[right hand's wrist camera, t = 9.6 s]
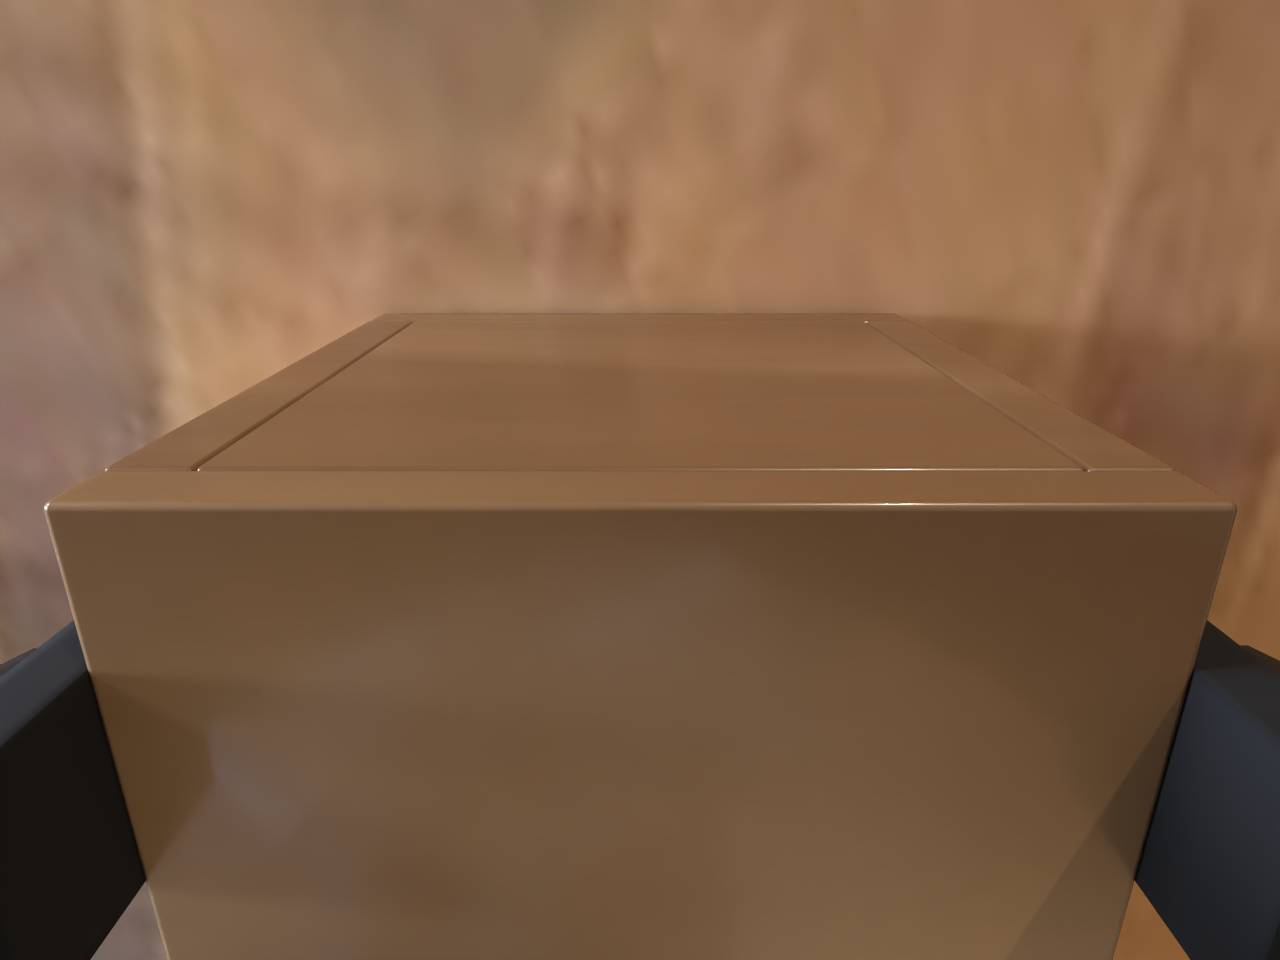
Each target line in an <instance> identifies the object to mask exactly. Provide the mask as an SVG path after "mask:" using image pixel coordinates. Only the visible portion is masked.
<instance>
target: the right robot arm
mask: <svg viewBox="0 0 1280 960" xmlns="http://www.w3.org/2000/svg"><path fill="white" fill-rule="evenodd" d="M145 881H146V879H145V875H144V872H143V868H142V864H141V861H140V857H139V853H138V850H137V846H136V843H135V839H134V835H133V832H132V828H131V824H130V821H129V817H128V814H127V810H126V806H125V803H124V799H123V795H122V792H121V788H120V785H119V781H118V777H117V774H116V770H115V766H114V763H113V759H112V756H111V752H110V748H109V745H108V741H107V738H106V734H105V730H104V727H103V723H102V719H101V716H100V712H99V709H98V705H97V701H96V698H95V694H94V690H93V687H92V683H91V680H90V676H89V672H88V669H87V665H86V661H85V658H84V654H83V651H82V647H81V643H80V640H79V636H78V632H77V629H76V625H75V622H74V620H73V621H72V622H71V623H69V624H68V625H67V626H66V627H64V628H63V629H62V630H61V631H59V632H58V633H57V634H55V635H54V636H53V637H52V638H50V639H49V640H48V641H46V642H45V643H44V644H43V645H41V646H40V647H39V648H34V649H32V650H30V651H28V652H26V653H24V654H22V655H20V656H17V657H15V658H13V659H11V660H9V661H7V662H5V663H3V664H1V665H0V960H90V959H91V958H92V956H93V955H94V954H95V952H96V951H97V949H98V948H99V946H100V945H101V944H102V942H103V941H104V939H105V938H106V937H107V935H108V934H109V932H110V931H111V929H112V928H113V927H114V925H115V924H116V922H117V921H118V919H119V918H120V917H121V915H122V914H123V912H124V911H125V909H126V908H127V907H128V905H129V904H130V902H131V901H132V900H133V898H134V897H135V895H136V894H137V892H138V891H139V890H140V888H141V887H142V885H143V884H144V882H145ZM1135 881H1136V883H1137V884H1138V886H1139V887H1140V888H1141V890H1142V891H1143V893H1144V894H1145V896H1146V897H1147V898H1148V900H1149V901H1150V903H1151V904H1152V905H1153V907H1154V908H1155V910H1156V911H1157V913H1158V914H1159V915H1160V917H1161V918H1162V920H1163V921H1164V923H1165V924H1166V925H1167V927H1168V928H1169V930H1170V931H1171V932H1172V934H1173V935H1174V937H1175V938H1176V940H1177V941H1178V942H1179V944H1180V945H1181V947H1182V948H1183V950H1184V951H1185V952H1186V954H1187V955H1188V957H1189V958H1190V960H1280V661H1278V660H1276V659H1274V658H1272V657H1270V656H1268V655H1266V654H1264V653H1262V652H1260V651H1258V650H1256V649H1254V648H1252V647H1250V646H1240V645H1238V644H1237V643H1236V642H1234V641H1233V640H1232V639H1231V638H1229V637H1228V636H1227V635H1225V634H1224V633H1223V632H1222V631H1220V630H1219V629H1218V628H1217V627H1215V626H1214V625H1213V624H1211V623H1210V622H1209V621H1208V620H1206V624H1205V628H1204V631H1203V635H1202V638H1201V642H1200V646H1199V649H1198V653H1197V656H1196V660H1195V664H1194V667H1193V671H1192V674H1191V678H1190V682H1189V685H1188V689H1187V692H1186V696H1185V700H1184V703H1183V707H1182V710H1181V714H1180V718H1179V721H1178V725H1177V728H1176V732H1175V736H1174V739H1173V743H1172V746H1171V750H1170V754H1169V757H1168V761H1167V764H1166V768H1165V772H1164V775H1163V779H1162V782H1161V786H1160V790H1159V793H1158V797H1157V800H1156V804H1155V808H1154V811H1153V815H1152V818H1151V822H1150V826H1149V829H1148V833H1147V836H1146V840H1145V844H1144V847H1143V851H1142V854H1141V858H1140V862H1139V865H1138V869H1137V872H1136V876H1135Z"/></svg>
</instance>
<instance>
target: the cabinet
mask: <svg viewBox="0 0 1280 960" xmlns="http://www.w3.org/2000/svg"><path fill="white" fill-rule="evenodd" d="M1236 512H1237V508H1236V504H1235V503H1234V502H1233V501H1231V500H1229V499H1227V498H1226V497H1224V496H1222V495H1220V494H1218V493H1217V492H1215V491H1213V490H1211V489H1209V488H1208V487H1206V486H1204V485H1202V484H1201V483H1199V482H1197V481H1195V480H1193V479H1192V478H1190V477H1188V476H1186V475H1184V474H1182V473H1180V472H1178V471H1175V469H1174V468H1173V467H1171V466H1169V465H1168V464H1166V463H1164V462H1162V461H1160V460H1159V459H1157V458H1155V457H1153V456H1151V455H1150V454H1148V453H1146V452H1144V451H1142V450H1141V449H1139V448H1137V447H1135V446H1133V445H1132V444H1130V443H1128V442H1126V441H1124V440H1123V439H1121V438H1119V437H1117V436H1115V435H1114V434H1112V433H1110V432H1108V431H1106V430H1104V429H1103V428H1101V427H1099V426H1097V425H1095V424H1094V423H1092V422H1090V421H1088V420H1086V419H1085V418H1083V417H1081V416H1079V415H1077V414H1076V413H1074V412H1072V411H1070V410H1068V409H1067V408H1065V407H1063V406H1061V405H1059V404H1058V403H1056V402H1054V401H1052V400H1050V399H1049V398H1047V397H1045V396H1043V395H1041V394H1040V393H1038V392H1036V391H1034V390H1032V389H1031V388H1029V387H1027V386H1025V385H1023V384H1022V383H1020V382H1018V381H1016V380H1014V379H1013V378H1011V377H1009V376H1007V375H1005V374H1004V373H1002V372H1000V371H998V370H996V369H995V368H993V367H991V366H989V365H987V364H986V363H984V362H982V361H980V360H978V359H977V358H975V357H973V356H971V355H969V354H968V353H966V352H964V351H962V350H960V349H959V348H957V347H955V346H953V345H951V344H949V343H948V342H946V341H944V340H942V339H940V338H939V337H937V336H935V335H933V334H931V333H930V332H928V331H926V330H924V329H922V328H921V327H919V326H917V325H915V324H913V323H912V322H909V321H907V320H906V319H904V318H902V317H900V316H898V315H896V314H383V315H381V316H379V317H377V318H375V319H373V320H372V321H369V322H367V323H365V324H364V325H362V326H360V327H358V328H356V329H355V330H353V331H351V332H349V333H347V334H346V335H344V336H342V337H340V338H338V339H337V340H335V341H333V342H331V343H329V344H328V345H326V346H324V347H322V348H320V349H319V350H317V351H315V352H313V353H311V354H310V355H308V356H306V357H304V358H302V359H301V360H299V361H297V362H295V363H294V364H292V365H290V366H288V367H286V368H285V369H283V370H281V371H279V372H277V373H276V374H274V375H272V376H270V377H268V378H267V379H265V380H263V381H261V382H259V383H258V384H256V385H254V386H252V387H250V388H249V389H247V390H245V391H243V392H241V393H240V394H238V395H236V396H234V397H232V398H231V399H229V400H227V401H225V402H223V403H222V404H220V405H218V406H216V407H214V408H213V409H211V410H209V411H207V412H205V413H204V414H202V415H200V416H198V417H197V418H195V419H193V420H191V421H189V422H188V423H186V424H184V425H182V426H180V427H179V428H177V429H175V430H173V431H171V432H170V433H168V434H166V435H164V436H162V437H161V438H159V439H157V440H155V441H153V442H152V443H150V444H148V445H146V446H144V447H143V448H141V449H139V450H137V451H135V452H134V453H132V454H130V455H128V456H126V457H125V458H123V459H121V460H119V461H117V462H116V463H114V464H112V465H110V466H108V467H107V468H106V469H105V471H103V472H100V473H98V474H96V475H94V476H92V477H91V478H89V479H87V480H85V481H84V482H82V483H80V484H78V485H76V486H75V487H73V488H71V489H69V490H67V491H66V492H64V493H62V494H60V495H58V496H57V497H55V498H53V499H51V500H50V501H48V502H46V504H45V506H44V513H45V517H46V520H47V524H48V527H49V531H50V535H51V538H52V542H53V546H54V549H55V553H56V556H57V560H58V564H59V567H60V571H61V575H62V578H63V582H64V585H65V589H66V593H67V596H68V600H69V604H70V607H71V611H72V614H73V618H74V622H75V625H76V629H77V632H78V636H79V640H80V643H81V647H82V651H83V654H84V658H85V661H86V665H87V669H88V672H89V676H90V680H91V683H92V687H93V690H94V694H95V698H96V701H97V705H98V709H99V712H100V716H101V719H102V723H103V727H104V730H105V734H106V738H107V741H108V745H109V748H110V752H111V756H112V759H113V763H114V766H115V770H116V774H117V777H118V781H119V785H120V788H121V792H122V795H123V799H124V803H125V806H126V810H127V814H128V817H129V821H130V824H131V828H132V832H133V835H134V839H135V843H136V846H137V850H138V853H139V857H140V861H141V864H142V868H143V872H144V875H145V879H146V882H147V886H148V890H149V893H150V897H151V900H152V904H153V908H154V911H155V915H156V919H157V922H158V926H159V929H160V933H161V937H162V940H163V944H164V948H165V951H166V955H167V958H168V960H1112V959H1113V955H1114V952H1115V948H1116V944H1117V941H1118V937H1119V934H1120V930H1121V926H1122V923H1123V919H1124V916H1125V912H1126V908H1127V905H1128V901H1129V898H1130V894H1131V890H1132V887H1133V883H1134V880H1135V876H1136V872H1137V869H1138V865H1139V862H1140V858H1141V854H1142V851H1143V847H1144V844H1145V840H1146V836H1147V833H1148V829H1149V826H1150V822H1151V818H1152V815H1153V811H1154V808H1155V804H1156V800H1157V797H1158V793H1159V790H1160V786H1161V782H1162V779H1163V775H1164V772H1165V768H1166V764H1167V761H1168V757H1169V754H1170V750H1171V746H1172V743H1173V739H1174V736H1175V732H1176V728H1177V725H1178V721H1179V718H1180V714H1181V710H1182V707H1183V703H1184V700H1185V696H1186V692H1187V689H1188V685H1189V682H1190V678H1191V674H1192V671H1193V667H1194V664H1195V660H1196V656H1197V653H1198V649H1199V646H1200V642H1201V638H1202V635H1203V631H1204V628H1205V624H1206V620H1207V617H1208V613H1209V610H1210V606H1211V602H1212V599H1213V595H1214V592H1215V588H1216V584H1217V581H1218V577H1219V574H1220V570H1221V566H1222V563H1223V559H1224V556H1225V552H1226V548H1227V545H1228V541H1229V538H1230V534H1231V530H1232V527H1233V523H1234V520H1235V516H1236Z"/></svg>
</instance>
